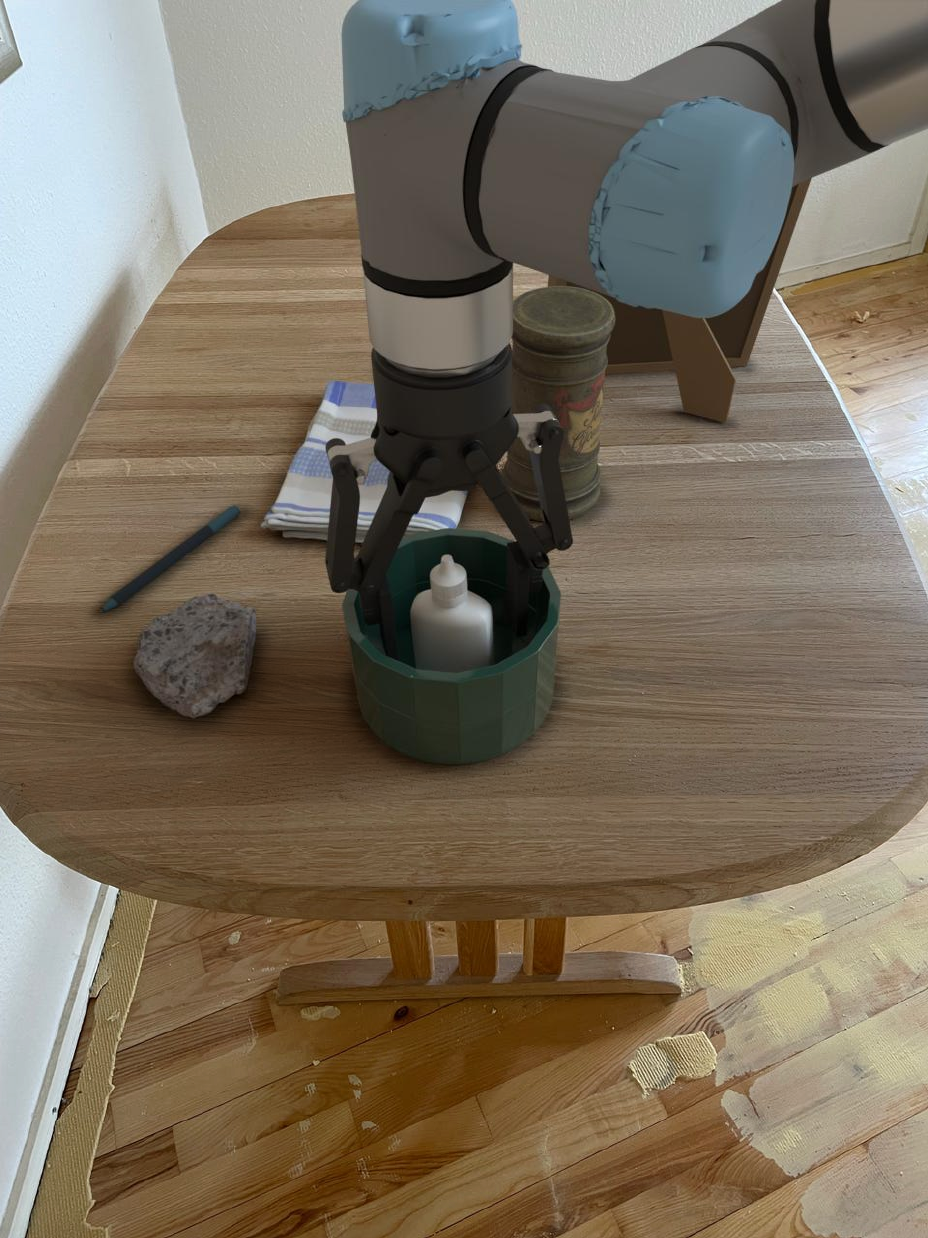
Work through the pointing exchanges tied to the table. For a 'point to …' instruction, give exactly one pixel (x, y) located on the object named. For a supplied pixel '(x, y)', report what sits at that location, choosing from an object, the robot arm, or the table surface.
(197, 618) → the rock
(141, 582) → the pen
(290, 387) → the table surface
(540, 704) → the pot
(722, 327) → the photo frame
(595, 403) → the container
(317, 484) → the dish towel
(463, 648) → the eye dropper bottle
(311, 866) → the table surface
